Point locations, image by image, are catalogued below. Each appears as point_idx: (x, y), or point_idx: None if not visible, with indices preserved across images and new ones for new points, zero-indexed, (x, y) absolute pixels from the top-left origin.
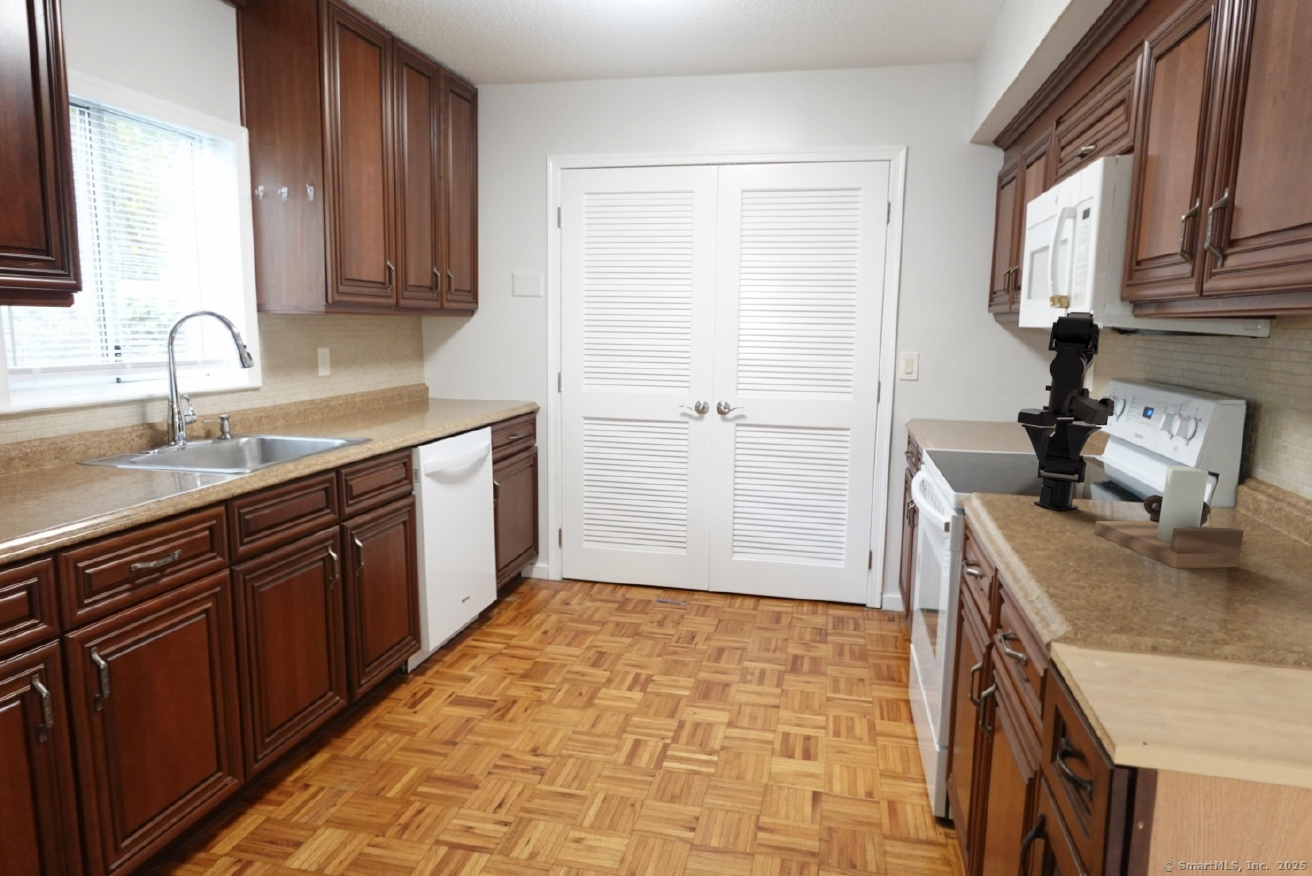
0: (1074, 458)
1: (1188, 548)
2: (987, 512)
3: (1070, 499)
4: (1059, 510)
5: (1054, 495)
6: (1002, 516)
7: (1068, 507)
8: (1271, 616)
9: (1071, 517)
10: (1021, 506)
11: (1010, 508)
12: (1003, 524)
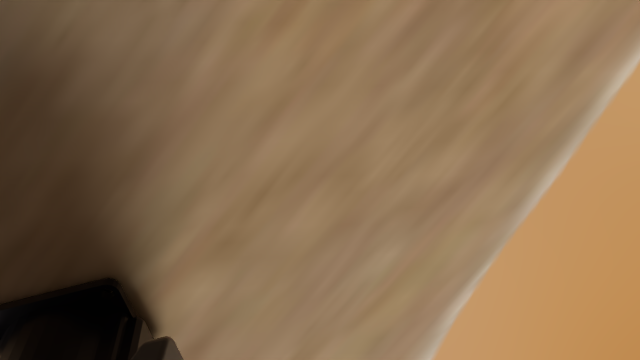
0: (174, 355)
1: None
2: (497, 250)
3: (6, 347)
4: (103, 279)
5: (108, 357)
6: (479, 189)
7: (33, 307)
8: None
9: (103, 175)
10: (252, 343)
11: (332, 312)
12: (595, 52)
